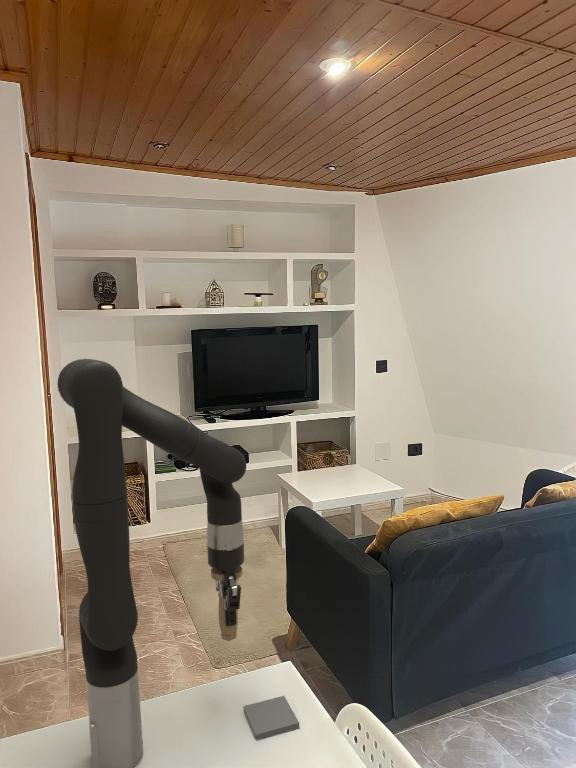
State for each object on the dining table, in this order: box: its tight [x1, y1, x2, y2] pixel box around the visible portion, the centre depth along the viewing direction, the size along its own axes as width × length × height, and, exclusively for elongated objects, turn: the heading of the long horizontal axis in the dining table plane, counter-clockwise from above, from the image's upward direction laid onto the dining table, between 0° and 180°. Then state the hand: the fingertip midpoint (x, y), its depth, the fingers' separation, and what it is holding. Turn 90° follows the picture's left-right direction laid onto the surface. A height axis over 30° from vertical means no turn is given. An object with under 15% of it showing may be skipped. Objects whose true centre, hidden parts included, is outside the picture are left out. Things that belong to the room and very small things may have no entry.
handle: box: [210, 565, 243, 642], centre depth 123 cm, size 5×6×15 cm
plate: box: [242, 695, 300, 741], centre depth 120 cm, size 9×9×1 cm
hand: (228, 619), depth 123 cm, fingers closed on handle, 4 cm apart
